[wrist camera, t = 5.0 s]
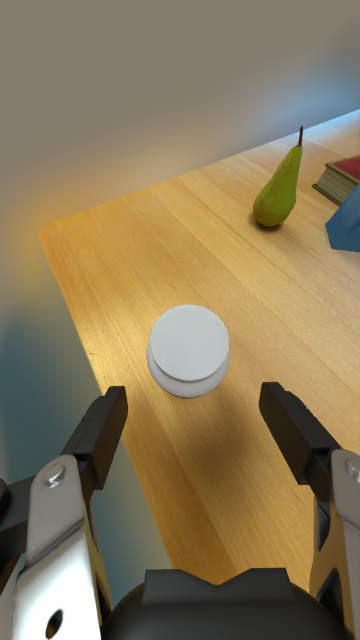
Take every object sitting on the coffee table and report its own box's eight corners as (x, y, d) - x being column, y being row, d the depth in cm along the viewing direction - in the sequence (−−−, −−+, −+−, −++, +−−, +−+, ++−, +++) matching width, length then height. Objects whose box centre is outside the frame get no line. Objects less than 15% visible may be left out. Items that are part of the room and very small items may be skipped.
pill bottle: (148, 373, 19) (113, 345, 10) (181, 335, 22) (180, 278, 12) (191, 412, 18) (201, 426, 8) (222, 366, 20) (263, 330, 10)
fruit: (289, 229, 30) (350, 132, 19) (259, 237, 29) (304, 141, 18) (270, 208, 33) (313, 114, 22) (241, 215, 32) (272, 120, 21)
